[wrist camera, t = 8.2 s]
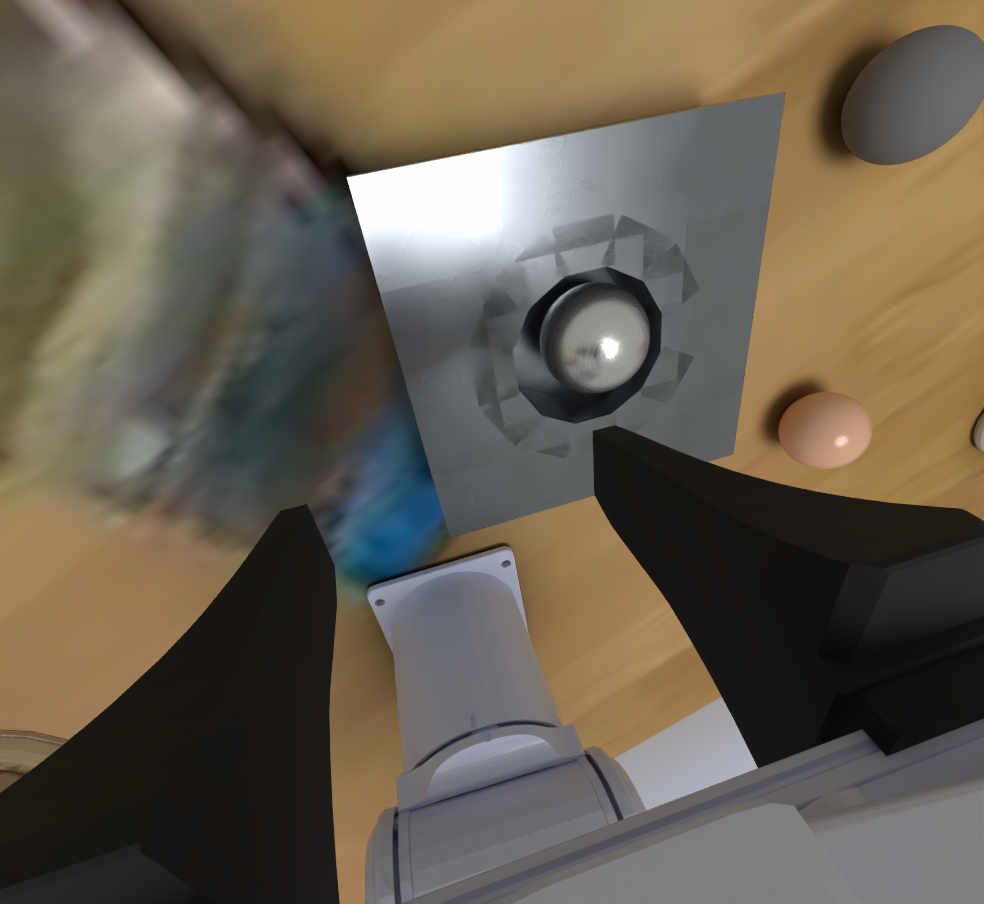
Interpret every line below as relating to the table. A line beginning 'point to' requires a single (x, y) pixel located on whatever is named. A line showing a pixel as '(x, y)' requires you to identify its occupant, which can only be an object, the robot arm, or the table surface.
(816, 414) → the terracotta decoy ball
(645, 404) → the bearing housing
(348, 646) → the table surface
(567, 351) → the steel ball
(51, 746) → the lantern
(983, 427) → the energy drink
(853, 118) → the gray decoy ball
